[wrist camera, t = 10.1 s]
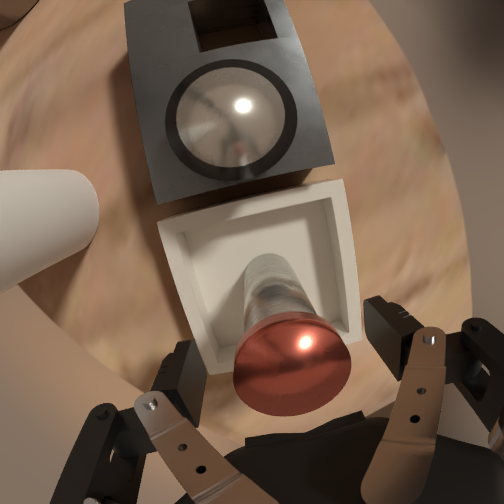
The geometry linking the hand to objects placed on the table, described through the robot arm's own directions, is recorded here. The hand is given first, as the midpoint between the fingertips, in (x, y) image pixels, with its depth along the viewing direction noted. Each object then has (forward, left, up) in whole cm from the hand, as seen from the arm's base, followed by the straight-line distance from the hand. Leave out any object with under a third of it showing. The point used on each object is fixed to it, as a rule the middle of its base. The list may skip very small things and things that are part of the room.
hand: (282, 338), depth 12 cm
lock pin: (0, 0, -8) cm, 8 cm away
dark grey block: (0, +14, -9) cm, 17 cm away
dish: (0, 0, -9) cm, 9 cm away
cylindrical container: (-15, +9, -9) cm, 20 cm away
